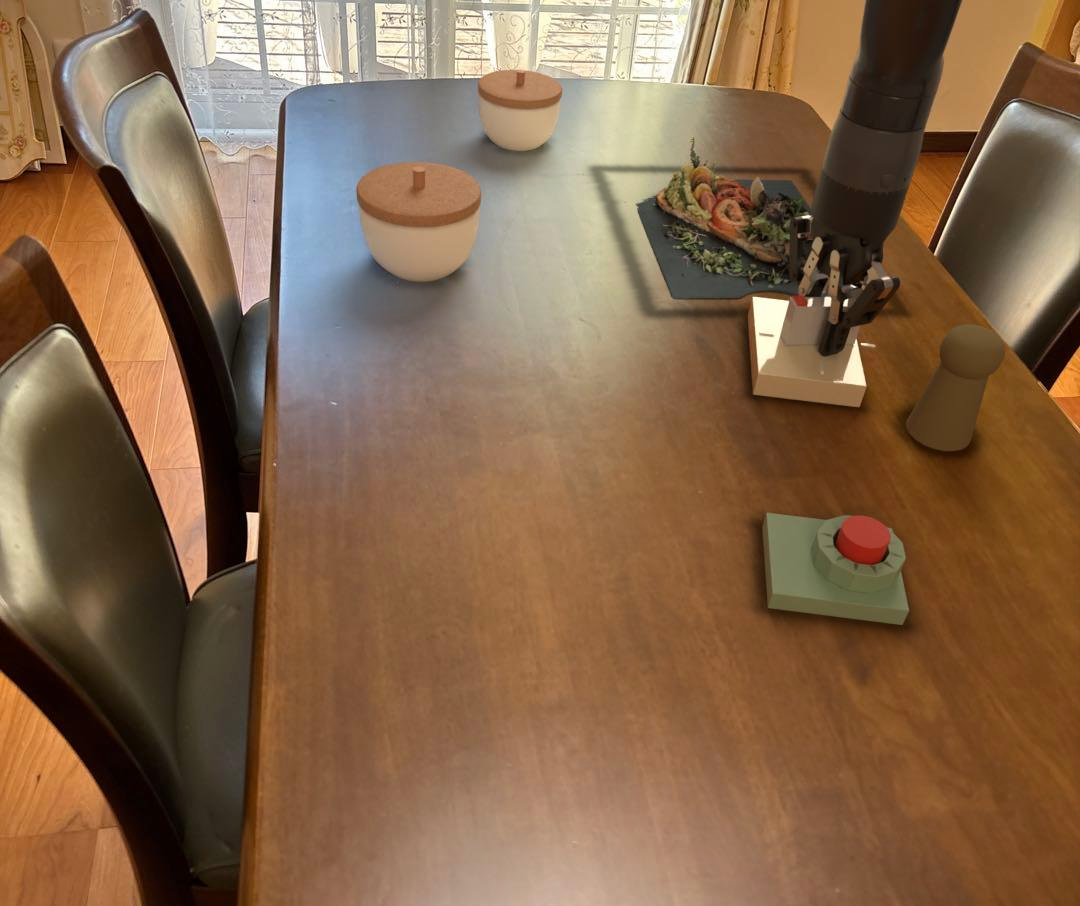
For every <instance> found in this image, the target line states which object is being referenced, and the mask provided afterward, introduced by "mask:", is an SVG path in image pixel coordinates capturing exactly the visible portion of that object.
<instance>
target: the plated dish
mask: <svg viewBox="0 0 1080 906" xmlns="http://www.w3.org/2000/svg"><path fill="white" fill-rule="evenodd" d="M690 143H691V147H690V149H689V151H690V154H689V156H690V163H691V164H690V163H685V164H684V165H683V166H681V167H680V171H677V172H673V175H672V178H671V180H669V183H668V185H667V186H666V187H663V188H662V189H661V190H660V191H659V192H658V193H657V194H656V195H652V197H647V198H644V199H643V198H642V201H640V202H638V201H637V203H635V206H636V210H637V214H638V217H639V220H640V222H641V224H642V227H643V230H644V232H645V235H646V237H647V240H648V242H649V245H650V247H651V250H652V251H653V254H654V257H655V259H656V261H657V264H658V267H659V269H660V272H661V274H662V277H663V279H664V281H665V283H666V286H667V289H668V292H669V293H670V297H671V298H672V299H673V300H741V299H742V298H744V297H746V296H749V295H752V294H758V293H778V294H783V295H787V296H790V297H793V295H799V293H798V288H799V285H798V284H797V282H792V281H791V280H790V278H789V249H790V220H791V219H792V218H795V217H799V216H806V215H812V214H811V206H810V205H809V204H808V202H807V201H806V199H805V198H804V197H803V195H802V193H801V192H800V190H799V189H798V188H797V186H796V185H795V183H794V182H793V181H792V180H790V179H789V180H788V179H760V177H759V176H757V177H755V178H754V179H733V180H729V179H727V178H726V177H725V176H723V175H722V174H719V175H716V168H717V167H716V166H715V165H716V163H712V166H711V167H712V169H710V168H709V167H707V163H709V160H708V159H706V160H705V161H706V162H705V163H703V165H702V164H701V156H700V155H697V153H696V152H695V150H694V148H695V143H696V141H695V137H693V138H691V139H690ZM700 164H701V165H700ZM805 264H806V255H803V256H802V257H801V268H804V266H805ZM850 285H852V284H849V285H842V287H846V286H850ZM828 289H829V286H828V288H827V290H826V292H825V293H822V294H821V295H822V296H823V297H829V296H828Z"/></svg>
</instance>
